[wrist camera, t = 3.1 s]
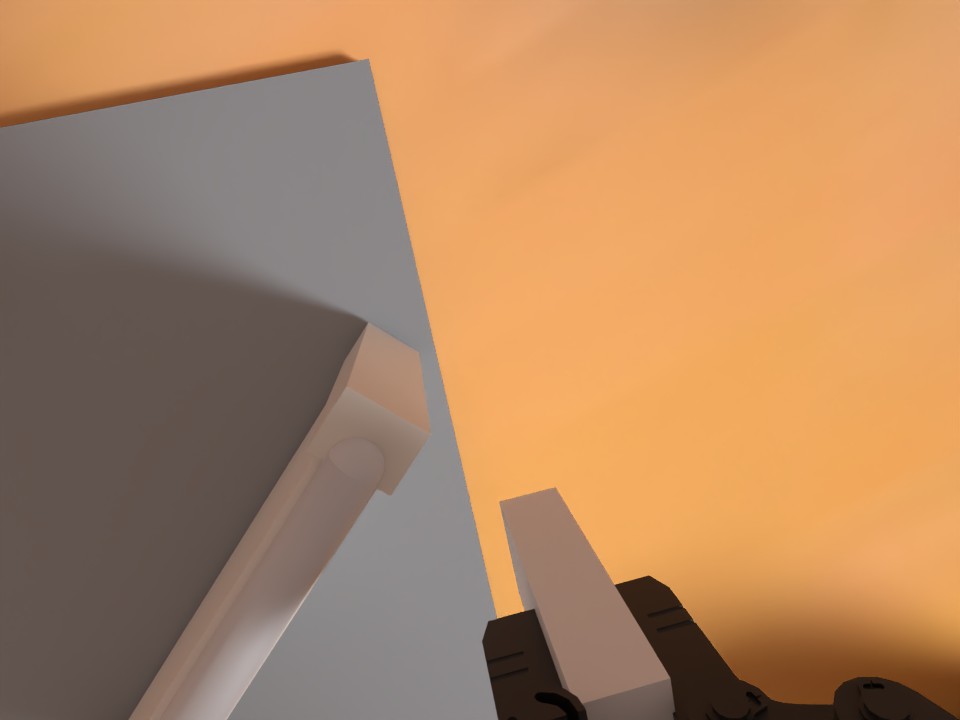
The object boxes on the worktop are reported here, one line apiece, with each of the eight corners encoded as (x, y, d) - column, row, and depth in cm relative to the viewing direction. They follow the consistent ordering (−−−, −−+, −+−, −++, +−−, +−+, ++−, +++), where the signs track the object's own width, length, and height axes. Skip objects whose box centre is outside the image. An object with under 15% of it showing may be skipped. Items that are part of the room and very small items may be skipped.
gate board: (520, 720, 26) (524, 739, 25) (29, 860, 24) (14, 886, 23) (370, 67, 20) (368, 58, 19) (-314, 195, 18) (-355, 193, 17)
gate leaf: (165, 747, 22) (14, 1083, 14) (115, 727, 22) (-76, 1061, 13) (418, 352, 20) (432, 446, 12) (368, 321, 20) (343, 395, 11)
